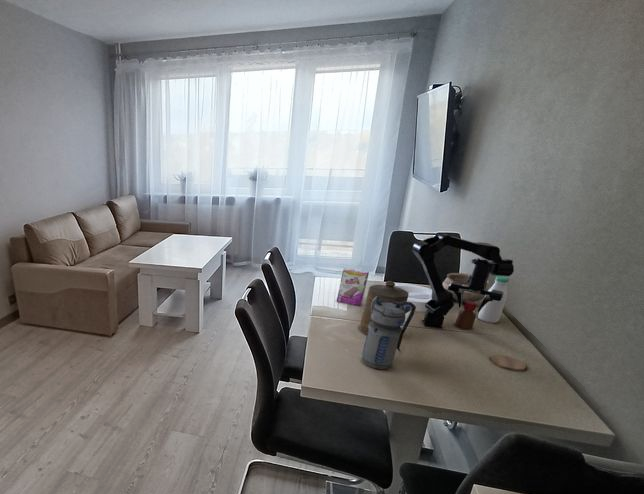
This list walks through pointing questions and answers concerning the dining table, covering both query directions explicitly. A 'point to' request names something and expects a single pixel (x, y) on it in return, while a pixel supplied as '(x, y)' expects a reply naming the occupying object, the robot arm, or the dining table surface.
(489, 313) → the milk bottle
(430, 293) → the white circle with bar
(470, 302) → the red toy block
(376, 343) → the beverage bottle
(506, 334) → the dining table surface
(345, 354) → the dining table surface
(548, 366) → the dining table surface
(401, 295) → the wooden container
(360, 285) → the candy bar box
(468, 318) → the bottle
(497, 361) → the coaster
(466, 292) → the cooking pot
